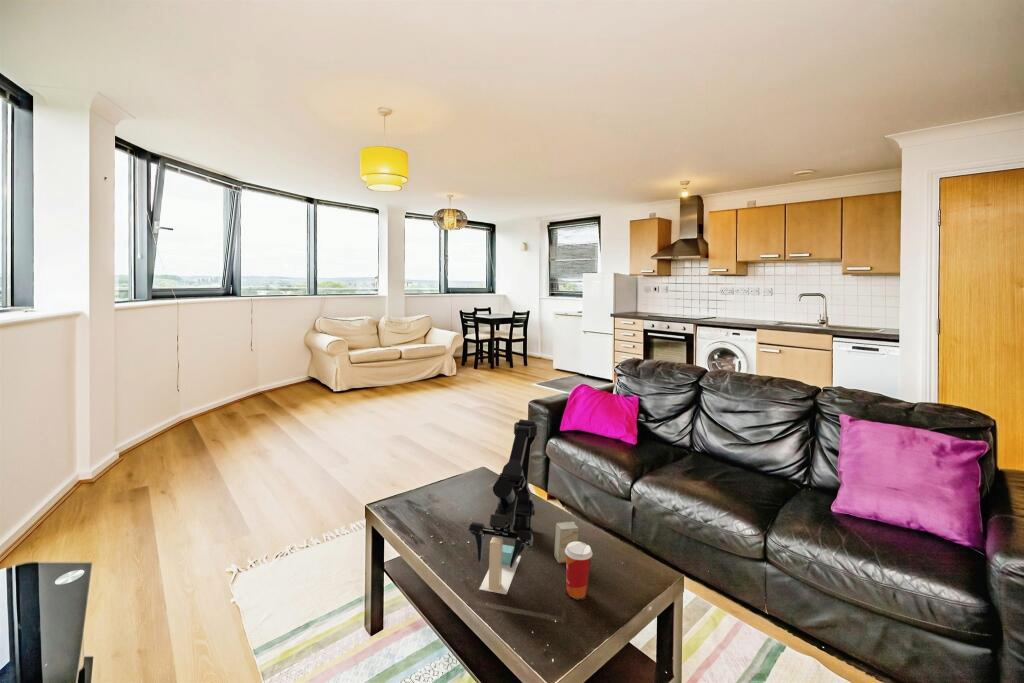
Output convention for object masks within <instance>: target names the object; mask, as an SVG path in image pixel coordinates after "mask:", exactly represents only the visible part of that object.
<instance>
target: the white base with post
mask: <svg viewBox="0 0 1024 683" xmlns="http://www.w3.org/2000/svg"><path fill="white" fill-rule="evenodd" d="M491 537H492V538H491V539H490V541H489V553H488V554H489V556H488V558H489V560H488V570H487V572H486V574H485V576H484V578H483V581H482V583H481V584H480V586H479V588H478V590H479V591H480V590H481V591H486V592H492V593H497V594H502V595H507V594H508V591H509V588H510V586H511V583H512V582H513V578H514V576H515V573H516V570H517V568H518V565H519V564H520V560H521V558H522V555H519V556H518V558H517V560H516V561H515V563H514V565H513V567H512V568H510V565H504V564H502V549H503V545H504V540H503V539H504V538H502V537H495V536H491Z"/></svg>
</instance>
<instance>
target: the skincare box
mask: <svg viewBox="0 0 1024 683" xmlns="http://www.w3.org/2000/svg"><path fill="white" fill-rule="evenodd" d="M554 535H555V536H554V537H555V538H554V539H555V540H554V551H553V552H554V555H553V556H554V558H555V560H556V561H557V563H558V564H564V563H566V553H565V549H566V547H567V545H568V544H569V543H571V542H576V541H578V540H579V538H578V537H579V526H578V525H577V523H576V522H575V521H574V520H572V521H560V522H555V534H554ZM578 542H579V541H578Z"/></svg>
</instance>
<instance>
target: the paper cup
mask: <svg viewBox="0 0 1024 683" xmlns="http://www.w3.org/2000/svg"><path fill="white" fill-rule="evenodd" d="M565 553H566V562H565V565H566V566H565V568H566V572H565V573H566V574H565V576H566V579H565V580H566V594H568V595H569V596H571V597H573V598H582V597H584V596H585V595H586V596H587V593H588V587H589V577H590V569H591V561H592V557H593V551H592V547H591V546H590V544H587V543H585V542H582V541H576V542H571V543H569V544H568V545H567V547H566V549H565ZM568 595H567V596H568ZM569 596H568V597H569Z"/></svg>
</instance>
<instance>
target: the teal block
mask: <svg viewBox="0 0 1024 683" xmlns="http://www.w3.org/2000/svg"><path fill="white" fill-rule="evenodd" d="M514 547H515V545H514V546H513V545H507V544H503V549H502V564H504V565H510V563H511V558H512V555H513V551H514Z"/></svg>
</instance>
